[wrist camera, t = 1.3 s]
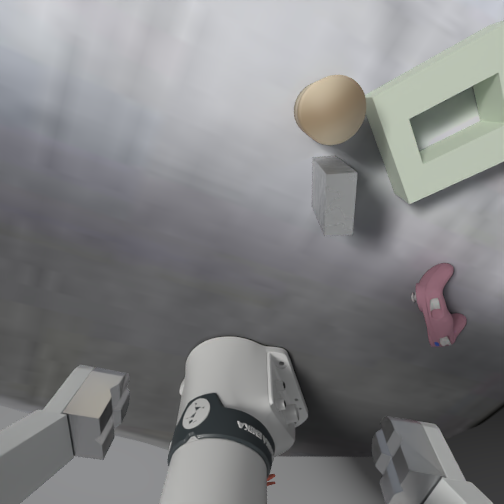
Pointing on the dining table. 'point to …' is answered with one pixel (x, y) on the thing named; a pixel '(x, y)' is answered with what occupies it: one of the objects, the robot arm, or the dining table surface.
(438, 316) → the video game controller
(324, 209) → the grey rectangular block
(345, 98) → the round beech peg
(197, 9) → the dining table surface
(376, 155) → the dining table surface
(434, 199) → the dining table surface
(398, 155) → the slot block
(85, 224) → the dining table surface
